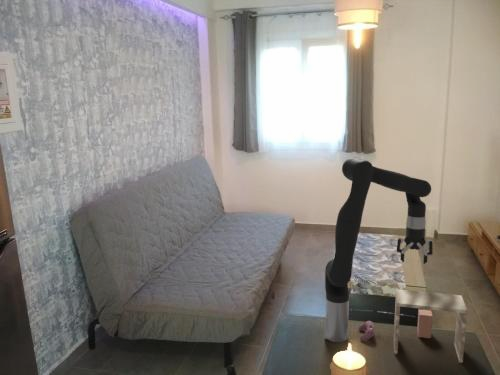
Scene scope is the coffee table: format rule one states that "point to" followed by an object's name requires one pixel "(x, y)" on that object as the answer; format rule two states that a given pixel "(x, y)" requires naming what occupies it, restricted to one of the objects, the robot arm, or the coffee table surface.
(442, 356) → the coffee table surface
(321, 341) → the coffee table surface
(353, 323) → the coffee table surface
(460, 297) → the clear acrylic riser
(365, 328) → the mauve looped ornament
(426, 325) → the terracotta block
